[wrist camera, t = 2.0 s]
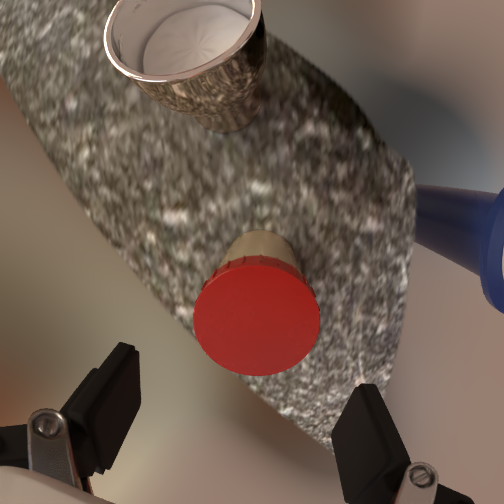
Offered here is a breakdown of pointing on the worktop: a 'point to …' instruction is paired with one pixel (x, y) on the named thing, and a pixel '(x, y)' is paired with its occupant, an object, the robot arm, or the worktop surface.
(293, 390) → the worktop surface
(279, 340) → the red lid
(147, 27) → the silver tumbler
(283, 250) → the jar
